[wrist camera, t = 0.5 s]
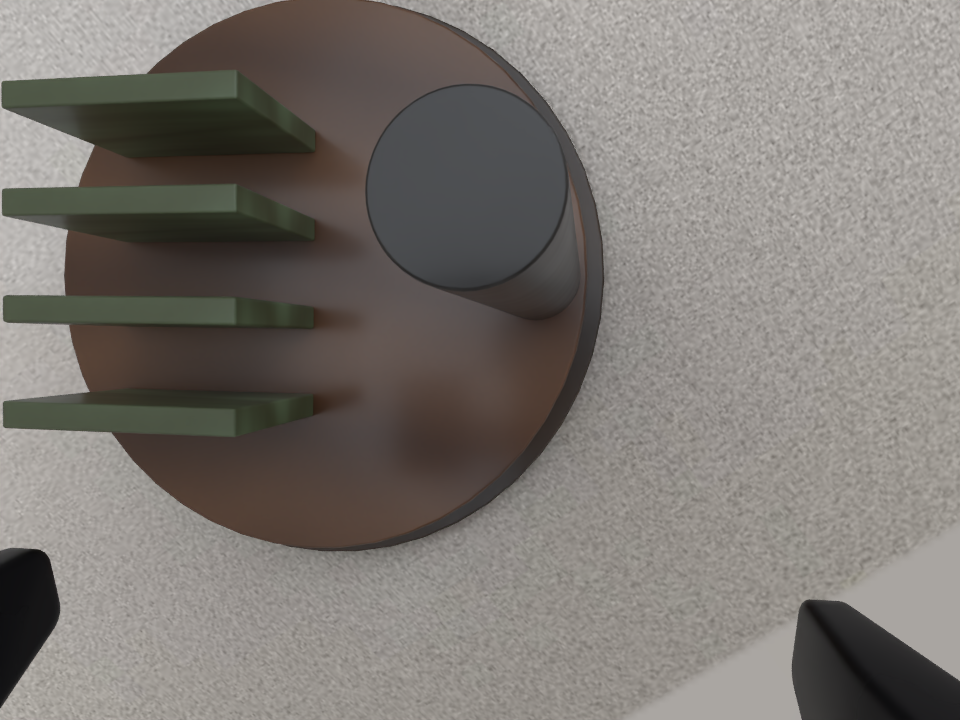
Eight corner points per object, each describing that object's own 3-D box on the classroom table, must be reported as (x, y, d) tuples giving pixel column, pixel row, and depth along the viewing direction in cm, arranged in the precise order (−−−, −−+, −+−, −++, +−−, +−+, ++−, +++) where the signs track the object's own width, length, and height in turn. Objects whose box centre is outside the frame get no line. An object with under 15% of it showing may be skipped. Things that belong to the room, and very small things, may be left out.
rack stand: (597, 559, 22) (598, 570, 21) (98, 527, 25) (78, 535, 24) (609, -2, 22) (610, -19, 21) (98, 29, 25) (77, 16, 24)
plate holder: (582, 554, 21) (571, 869, 9) (89, 523, 24) (-477, 729, 11) (593, -3, 21) (599, -543, 8) (88, 28, 23) (-505, -342, 11)
